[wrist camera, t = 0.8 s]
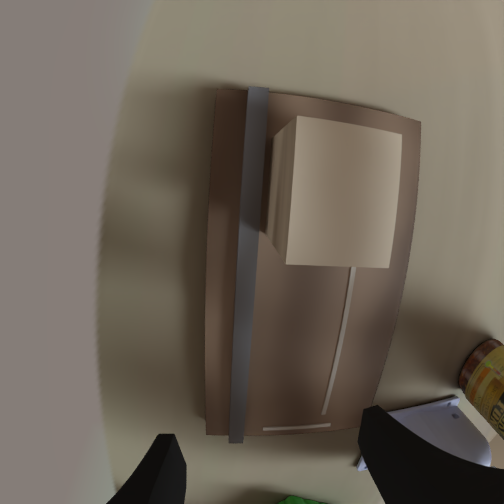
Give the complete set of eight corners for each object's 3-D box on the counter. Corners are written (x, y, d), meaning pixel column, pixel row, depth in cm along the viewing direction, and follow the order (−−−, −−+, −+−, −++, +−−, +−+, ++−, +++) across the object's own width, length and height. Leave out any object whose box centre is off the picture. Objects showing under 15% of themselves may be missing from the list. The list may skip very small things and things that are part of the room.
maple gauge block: (355, 148, 16) (414, 137, 10) (347, 238, 17) (401, 268, 11) (271, 138, 15) (297, 115, 9) (265, 233, 16) (285, 264, 11)
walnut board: (408, 124, 17) (428, 119, 15) (357, 414, 22) (366, 432, 20) (217, 96, 16) (216, 84, 14) (206, 421, 21) (205, 442, 19)
